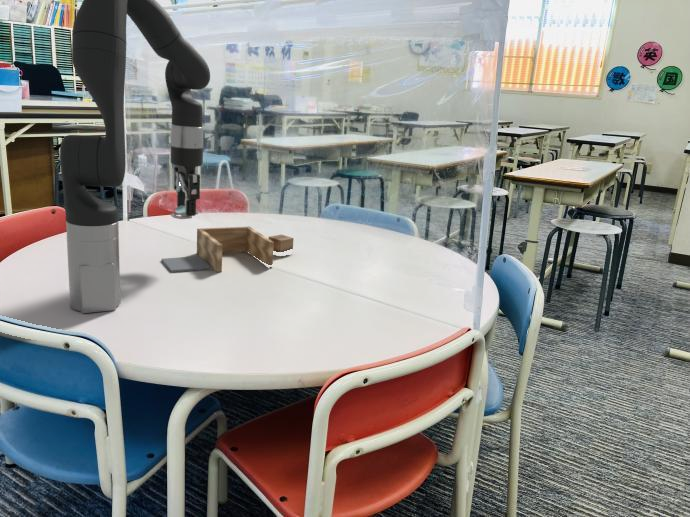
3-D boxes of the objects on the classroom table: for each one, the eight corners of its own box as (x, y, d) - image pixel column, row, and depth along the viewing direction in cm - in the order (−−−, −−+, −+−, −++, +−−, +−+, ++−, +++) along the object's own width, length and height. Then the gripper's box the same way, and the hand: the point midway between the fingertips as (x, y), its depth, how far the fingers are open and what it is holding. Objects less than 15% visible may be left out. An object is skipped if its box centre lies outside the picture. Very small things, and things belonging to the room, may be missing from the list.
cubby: (272, 267, 144) (273, 242, 142) (217, 272, 136) (217, 245, 134) (248, 250, 158) (249, 226, 156) (196, 253, 150) (197, 228, 148)
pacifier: (176, 221, 131) (200, 220, 134) (175, 196, 129) (200, 195, 133) (167, 215, 137) (191, 213, 140) (166, 190, 135) (190, 189, 138)
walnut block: (292, 254, 158) (293, 238, 156) (280, 257, 154) (281, 240, 152) (280, 250, 161) (281, 234, 159) (267, 253, 157) (268, 236, 155)
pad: (211, 269, 138) (211, 267, 138) (171, 272, 133) (171, 270, 133) (199, 258, 146) (199, 256, 146) (161, 260, 141) (161, 258, 141)
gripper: (211, 149, 127) (210, 218, 132) (193, 142, 139) (192, 205, 143) (179, 148, 123) (178, 219, 128) (163, 141, 135) (163, 206, 140)
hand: (186, 212), depth 136 cm, fingers closed on pacifier, 7 cm apart
